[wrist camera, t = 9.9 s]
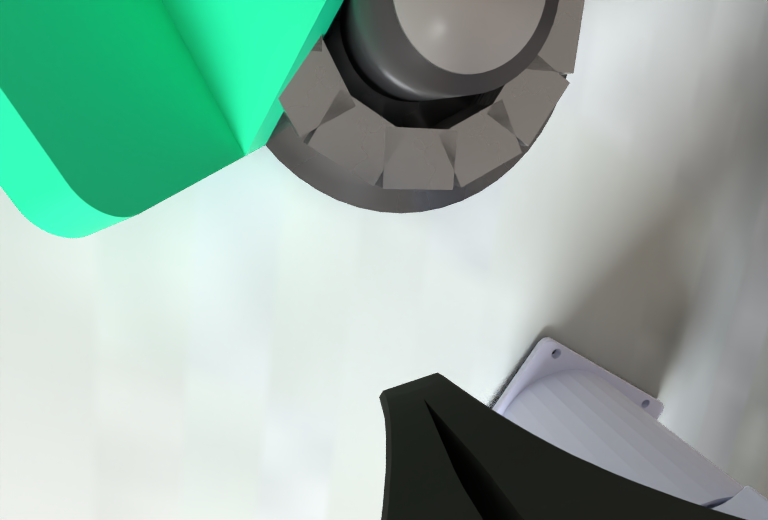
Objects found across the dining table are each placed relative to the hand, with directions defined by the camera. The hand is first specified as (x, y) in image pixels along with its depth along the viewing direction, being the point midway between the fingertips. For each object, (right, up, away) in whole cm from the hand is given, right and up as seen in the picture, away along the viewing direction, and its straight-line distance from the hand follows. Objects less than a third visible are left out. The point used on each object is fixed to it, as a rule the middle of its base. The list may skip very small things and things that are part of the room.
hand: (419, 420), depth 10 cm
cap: (0, +12, +6) cm, 13 cm away
